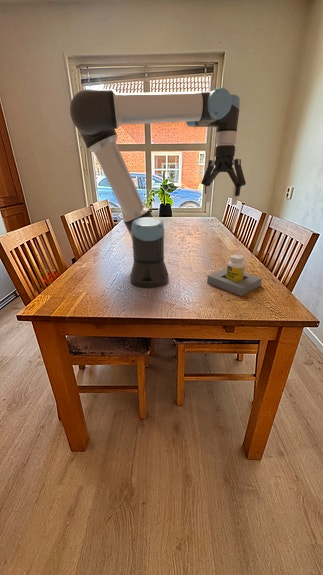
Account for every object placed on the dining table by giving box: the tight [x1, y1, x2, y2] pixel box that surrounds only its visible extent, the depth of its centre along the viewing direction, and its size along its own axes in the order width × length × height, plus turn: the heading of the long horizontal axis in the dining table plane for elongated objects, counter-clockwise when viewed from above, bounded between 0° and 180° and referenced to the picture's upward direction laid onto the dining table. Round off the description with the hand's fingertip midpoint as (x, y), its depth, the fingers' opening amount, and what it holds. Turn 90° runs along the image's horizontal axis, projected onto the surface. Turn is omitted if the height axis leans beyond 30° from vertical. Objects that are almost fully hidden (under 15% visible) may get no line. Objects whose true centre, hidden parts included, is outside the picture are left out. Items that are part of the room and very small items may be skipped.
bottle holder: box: [206, 267, 263, 297], centre depth 94 cm, size 13×15×3 cm
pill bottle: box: [226, 254, 246, 283], centre depth 92 cm, size 6×6×11 cm
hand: (220, 203), depth 104 cm, fingers open, 13 cm apart
